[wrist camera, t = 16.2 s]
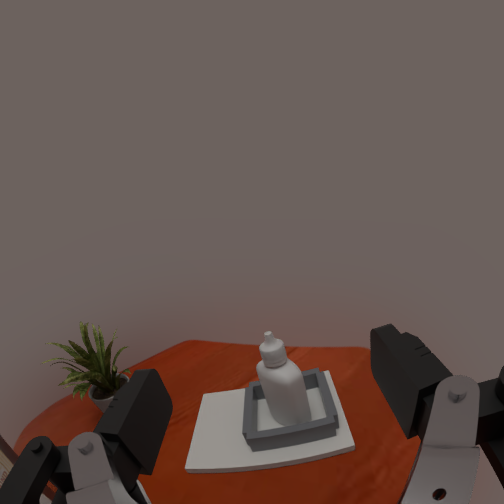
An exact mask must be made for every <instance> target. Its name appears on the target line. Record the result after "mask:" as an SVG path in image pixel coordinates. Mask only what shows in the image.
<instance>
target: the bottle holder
mask: <svg viewBox="0 0 504 504" xmlns="http://www.w3.org/2000/svg"><path fill="white" fill-rule="evenodd" d="M301 373H302V375H303V379H304V383H305V387H306V392H307V397H308V402H309V406H310V411H311V420H310V421H309V422H305V423H300V424H295V425H291V426H284V425H282V424H280V423H279V422H277V421H276V420H275V419H274V418H273V416H272V415H271V413H270V410H269V408H268V405H267V402H266V398H265V395H264V392H263V389H262V386H261V383H260V381H255V382H249V387H247V388H244V389H238V390H231V391H224V392H217V393H209V394H204V395H203V399H202V402H201V406H200V410H199V414H198V418H197V422H196V426H195V430H194V434H193V438H192V442H191V446H190V450H189V454H188V458H187V462H186V466H185V470H186V471H187V472H188V473H226V472H241V471H252V470H261V469H269V468H276V467H283V466H289V465H294V464H300V463H305V462H310V461H314V460H319V459H323V458H327V457H331V456H335V455H339V454H342V453H346V452H349V451H353V450H355V444H354V441H353V438H352V435H351V432H350V429H349V426H348V424H347V421H346V418H345V415H344V412H343V409H342V406H341V404H340V401H339V398H338V395H337V392H336V390H335V387H334V384H333V381H332V379H331V376H330V373H329V370H328V371H322V372H319V369H318V368H315V369H311V370H307V371H303V372H301Z"/></svg>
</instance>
